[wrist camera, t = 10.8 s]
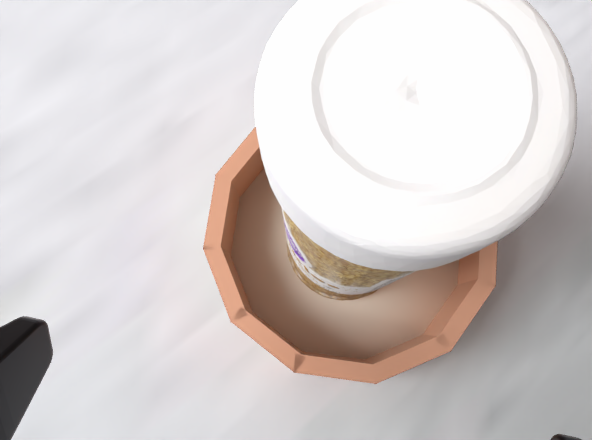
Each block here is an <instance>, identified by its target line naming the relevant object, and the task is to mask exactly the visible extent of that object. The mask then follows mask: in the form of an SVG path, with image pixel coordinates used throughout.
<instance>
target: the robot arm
mask: <svg viewBox="0 0 592 440" xmlns="http://www.w3.org/2000/svg"><path fill="white" fill-rule="evenodd" d="M52 356H53V349H52V344H51V339H50V334H49V329H48V325H47V323H46V322H45V321H44V320H41V319H36V318H32V317H27V316H23V317H19V318H17V319H15V320H13V321H11V322H9V323H7V324H6V325H4V326H2V327H0V440H11V438H12V436H13V435H14V433H15V431H16V429H17V427H18V425H19V423H20V421H21V419H22V418H23V416H24V414H25V412H26V410H27V408H28V406H29V404H30V402H31V400H32V398H33V396H34V394H35V392H36V390H37V388H38V387H39V385H40V383H41V381H42V379H43V377H44V375H45V373H46V371H47V369H48V367H49V365H50V363H51V360H52ZM551 440H581V439H579V438H576V437H572V436H567V435H563V434H557V435H554V436H553V437H552V438H551Z"/></svg>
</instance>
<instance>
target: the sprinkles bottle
mask: <svg viewBox="0 0 592 440" xmlns="http://www.w3.org/2000/svg"><path fill="white" fill-rule="evenodd" d="M254 113H255V124H256V132H257V137H258V143H259V148H260V153H261V158H262V161H263V165H264V168H265V172H266V174H267V177H268V180H269V183H270V186H271V188H272V190H273V192H274V194H275V196H276V198H277V200H278V202H279V204H280V205H281V207H282V213H283V218H284V224H285V231H286V238H287V252H288V258H289V261H290V263H291V265H292V268H293V270H294V272H295V273H296V275H297V276H298V277H299V279H300V280H301V281H302V282H303V283H304V284H305V285H306V286H307V287H309V288H310V289H311V290H313V291H314V292H316V293H317V294H319V295H321V296H323V297H326V298H329V299H336V300H342V301H343V300H355V299H359V298H362V297H365V296H368V295H371V294H373V293H375V292H376V291H377V290H378V289H380V288H382V287H384V286H386V285H388V284H390V283H392V282H394V281H396V280H398V279H401V278H403V277H405V276H407V275H409V274H411V273H413V272H415V271H418V270H424V269H431V268H435V267H438V266H442V265H445V264H448V263H451V262H453V261H456V260H459V259H461V258H463V257H466V256H468V255H470V254H472V253H474V252H477V251H479V250H481V249H483V248H485V247H487V246H489V245H491V244H493V243H495V242H497V241H498V240H500V239H502V238H504V237H505V236H507V235H508V234H510V233H511V232H513V231H514V230H516V229H517V228H518V227H519V226H520V225H522V224H523V223H524V222H525V221H526V220H528V219H529V218H530V217H531V216H532V215H533V214H534V213H535V212H536V211H537V210H538V209H539V208H540V207H541V206H542V204H543V203H544V202H545V201H546V199H547V198H548V197H549V196H550V194H551V193H552V191H553V189H554V188H555V186H556V185H557V183H558V181H559V180H560V178H561V176H562V174H563V172H564V170H565V168H566V165H567V163H568V161H569V159H570V156H571V153H572V149H573V144H574V137H575V134H576V124H577V95H576V89H575V84H574V78H573V75H572V72H571V69H570V66H569V63H568V60H567V57H566V55H565V53H564V51H563V48H562V46H561V44H560V42H559V41H558V39H557V37H556V36H555V34H554V33H553V31H552V30H551V28H550V27H549V25H548V24H547V22H546V21H545V20H544V19H543V17H542V16H541V15H540V14H539V13H538V12H537V11H536V10H535V9H534V7H533V6H532V5H531V4H530V3H528V2H527V1H526V0H299V1H298V2H297V3H296V4H295V5H294V6H293V7H292V8H291V9H290V10H289V11H288V12H287V14H286V15H285V16H284V18H283V19H282V20H281V22H280V23H279V24H278V26H277V27H276V29H275V30H274V32H273V34H272V36H271V38H270V39H269V41H268V43H267V45H266V47H265V50H264V53H263V56H262V59H261V62H260V66H259V70H258V73H257V79H256V85H255V92H254Z"/></svg>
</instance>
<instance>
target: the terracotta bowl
mask: <svg viewBox="0 0 592 440" xmlns="http://www.w3.org/2000/svg"><path fill="white" fill-rule="evenodd" d="M215 176H216V177H215V182H214V188H213V194H212V200H211V206H210V212H209V217H208V223H207V229H206V235H205V241H204V247H203V250H204V252H205V255H206V257H207V260H208V263H209V265H210V268H211V270H212V273H213V276H214V278H215V281H216V284H217V286H218V289H219V292H220V294H221V297H222V300H223V302H224V305H225V307H226V310H227V313H228V315H229V318H230V321H231V322H232V323H233V324H235V325H236V326H237V327H238V328H240V329H241V330H242V331H243V332H245V333H246V334H247V335H248V336H250V337H251V338H252V339H253V340H254V341H256V342H257V343H258V344H259V345H261V346H262V347H263V348H264V349H266V350H267V351H268V352H269V353H271V354H272V355H273V356H274V357H276V358H277V359H278V360H279V361H281V362H282V363H283V364H284V365H286V366H287V367H288V368H289V369H291V370H292V371H293V372H294V373H302V374H310V375H317V376H324V377H331V378H338V379H346V380H353V381H360V382H367V383H374V384H377V383H379V382H381V381H383V380H386V379H388V378H390V377H393V376H395V375H397V374H400V373H402V372H404V371H406V370H409V369H411V368H413V367H416V366H418V365H420V364H422V363H425V362H427V361H429V360H432V359H434V358H436V357H439V356H441V355H443V354H445V353H448V352H451V351H452V349H453V347H454V346H455V344H456V343H457V341H458V340H459V338H460V337H461V335H462V334H463V333H464V331H465V330H466V328H467V327H468V325H469V324H470V322H471V321H472V319H473V318H474V316H475V315H476V314H477V312H478V311H479V309H480V308H481V306H482V305H483V303H484V302H485V300H486V299H487V298H488V296H489V295H490V293H491V292H492V290H493V289H494V287H495V286H496V265H497V245H498V241H497V242H495V243H493V244H491V245H489V246H487V247H485V248H483V249H481V250H479V251H477V252H474V253H472V254H470V255H468V256H466V257H463V258H461V259H459V260H456V261H453V262H451V263H448V264H445V265H442V266H438V267H435V268H431V269H424V270H418V271H415V272H413V273H411V274H409V275H407V276H405V277H403V278H401V279H398V280H396V281H394V282H392V283H390V284H388V285H386V286H384V287H382V288H380V289H378V290H377V291H376V292H375V293H373V294H371V295H368V296H365V297H362V298H359V299H355V300H343V301H342V300H336V299H329V298H326V297H323V296H321V295H319V294H317V293H316V292H314V291H313V290H311V289H310V288H309V287H307V286H306V285H305V284H304V283H303V282H302V281H301V280H300V279H299V277H298V276H297V275H296V273H295V272H294V270H293V268H292V265H291V263H290V261H289V258H288V252H287V238H286V231H285V224H284V218H283V213H282V207H281V205H280V204H279V202H278V200H277V198H276V196H275V194H274V192H273V190H272V188H271V186H270V183H269V180H268V177H267V174H266V172H265V168H264V165H263V161H262V158H261V153H260V148H259V143H258V137H257V132H256V127H255V128H254V129H253V130H252V132H251V133H250V134H249V135H248V136H247V138H246V139H245V140H244V141H243V142H242V144H241V145H240V146H239V147H238V148H237V150H236V151H235V152H234V153H233V154H232V156H231V157H230V158H229V159H228V161H227V162H226V163H225V164H224V165H223V167H222V168H221V169H220V170H219V171H218V173H217V174H216V175H215Z"/></svg>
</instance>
